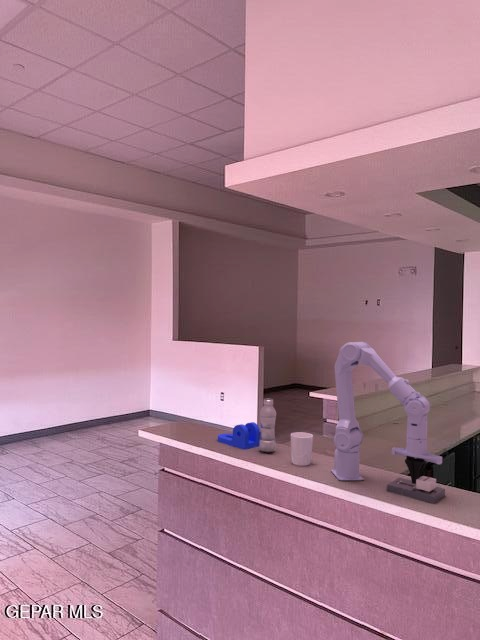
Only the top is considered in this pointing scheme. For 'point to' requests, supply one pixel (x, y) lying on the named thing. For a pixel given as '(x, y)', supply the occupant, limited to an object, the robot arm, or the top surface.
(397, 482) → the strip
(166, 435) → the top surface
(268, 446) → the plastic bottle
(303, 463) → the white cup
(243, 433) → the bracket
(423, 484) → the fader knob
